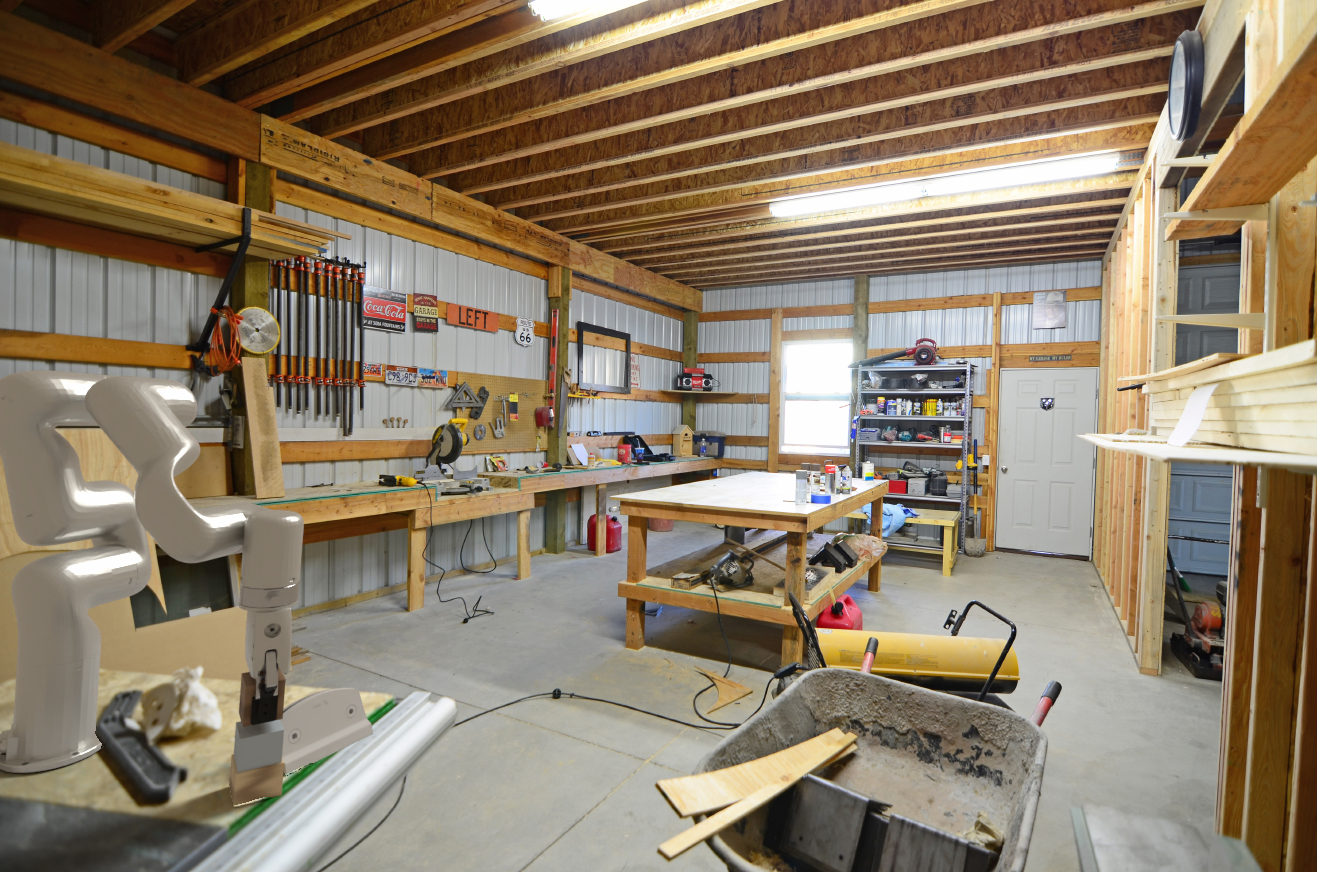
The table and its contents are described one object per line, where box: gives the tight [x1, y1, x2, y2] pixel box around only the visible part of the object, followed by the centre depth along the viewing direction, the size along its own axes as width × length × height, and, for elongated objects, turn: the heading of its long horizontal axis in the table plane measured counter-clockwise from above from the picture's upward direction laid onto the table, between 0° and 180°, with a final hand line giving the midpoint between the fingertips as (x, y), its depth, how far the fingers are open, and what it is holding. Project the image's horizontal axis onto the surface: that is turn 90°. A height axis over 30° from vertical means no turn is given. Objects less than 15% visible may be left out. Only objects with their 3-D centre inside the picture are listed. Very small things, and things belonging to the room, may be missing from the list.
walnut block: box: [238, 668, 286, 727], centre depth 93 cm, size 5×5×6 cm
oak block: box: [228, 753, 284, 806], centre depth 93 cm, size 6×6×5 cm
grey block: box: [233, 720, 284, 773], centre depth 93 cm, size 6×6×5 cm
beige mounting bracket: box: [280, 687, 374, 774], centre depth 106 cm, size 17×5×10 cm, turn 154°
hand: (260, 712), depth 93 cm, fingers closed on walnut block, 5 cm apart
